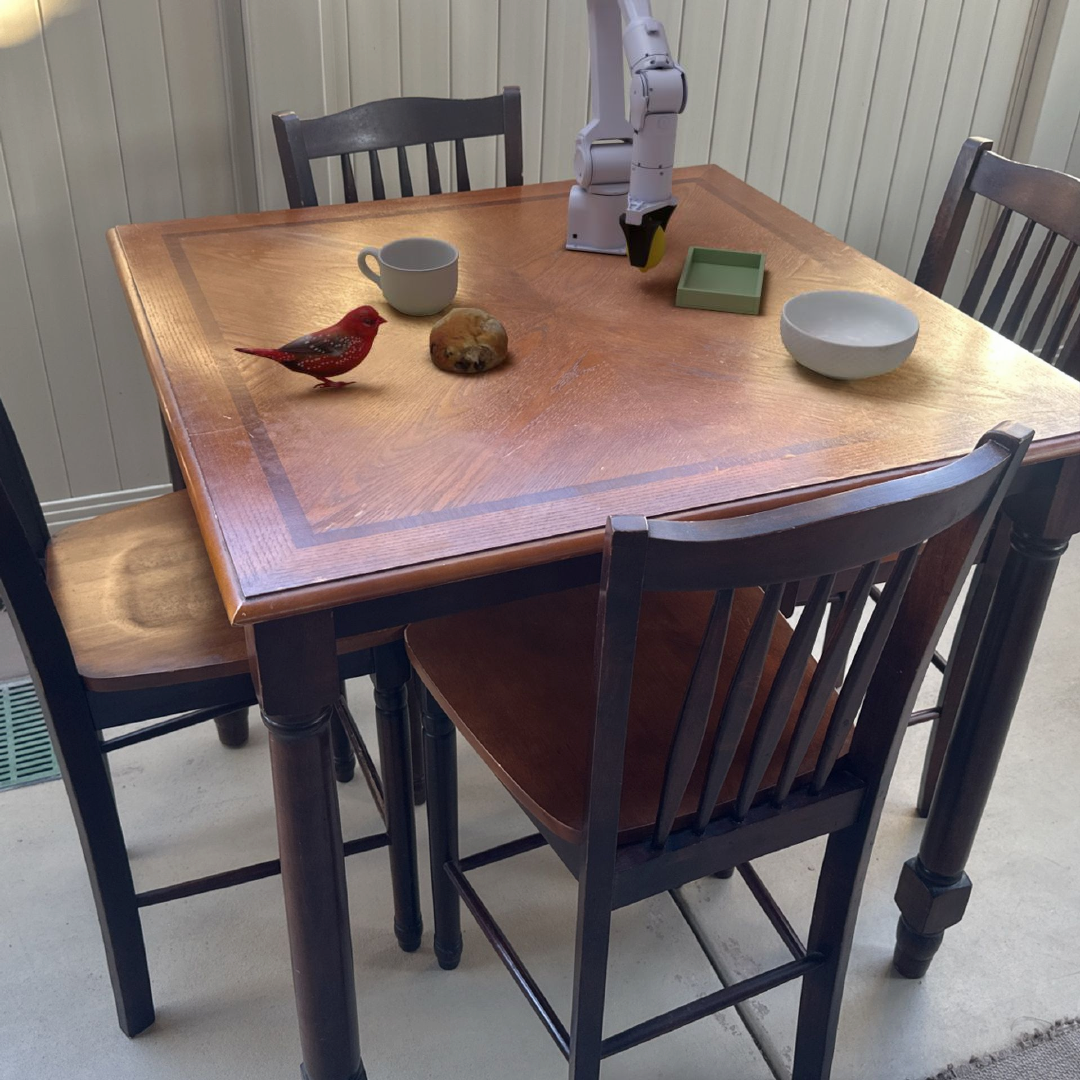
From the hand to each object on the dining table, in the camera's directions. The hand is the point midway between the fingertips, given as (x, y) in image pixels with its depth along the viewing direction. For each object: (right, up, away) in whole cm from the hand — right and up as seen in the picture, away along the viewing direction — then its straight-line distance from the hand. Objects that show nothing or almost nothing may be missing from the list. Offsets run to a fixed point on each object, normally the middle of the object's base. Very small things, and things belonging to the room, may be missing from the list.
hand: (644, 259), depth 161 cm
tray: (+11, -3, +2) cm, 12 cm away
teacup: (-33, -8, -6) cm, 34 cm away
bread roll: (-24, -17, -19) cm, 35 cm away
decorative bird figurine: (-41, -22, -27) cm, 54 cm away
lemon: (0, -2, +1) cm, 2 cm away
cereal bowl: (+23, -18, -18) cm, 35 cm away
